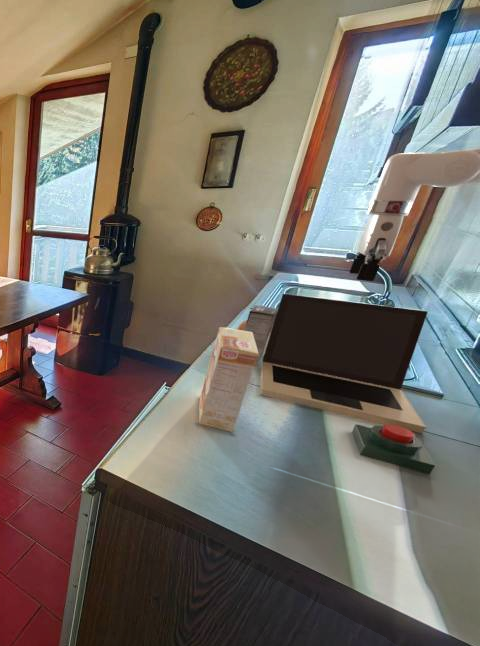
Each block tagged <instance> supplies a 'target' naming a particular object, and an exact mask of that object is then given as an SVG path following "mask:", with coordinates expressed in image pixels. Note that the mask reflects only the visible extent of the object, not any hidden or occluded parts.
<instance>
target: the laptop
mask: <svg viewBox="0 0 480 646" xmlns="http://www.w3.org/2000/svg"><path fill="white" fill-rule="evenodd" d="M259 388H260V389H259V390H260V391H259V392H260V396H264V397H268V398H273V399H277V400H281V401H284V402H288V403H293V404H298V405H302V406H306V407H310V408H314V409H318V410H323V411H326V412H330V413H334V414H339V415H343V416H348V417H351V418H356V419H359V420H364V421H367V422H373V423H375V424H376V423H377V424H380V425H387V424H390V425H396V426H400V427H403V428H405V429H408V430H410V431H411V432H413V433H419V434H424V432H425V430H426V428H427V426H426V425H425V423H424V422H423V419H421V417H420V416H419V414H418V413H417V411H416V410H415V408H414V406H412V404H411V402H410V400H409V399H408V398H407V396H406V395H405V394H404V392H403V391H402V390H400V389H395V388H390V387H385V386H380V385H375V384H370V383H365V382H360V381H355V380H350V379H346V378H341V377H336V376H331V375H326V374H321V373H316V372H311V371H306V370H301V369H296V368H291V367H286V366H282V365H277V364H272V363H267V362H261V365H260V386H259Z"/></svg>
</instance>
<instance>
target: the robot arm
mask: <svg viewBox="0 0 480 646" xmlns="http://www.w3.org/2000/svg"><path fill="white" fill-rule="evenodd" d="M473 183H480V147H479V148H474V149H461V150H452V151H445V152H434V153H427V152H404V153H401V152H400V153H395V154H393V155H391V156H389V157H388V159H387V160H386V162H385V164H384V167H383V169H382V172H381V175H380V176H379V180H378V182H377V184H376V187H375V190H374V191H373V195H372V197H371V199H370V202H369V205H368V207H367V210H366V211H365V215H370V216H369V218H368V220H367V223H366V224H365V227H364V229H363V232H362V234H361V237H360V239H359V242H358V244H357V248H356V250H357V253H356V255H355V257H354V259H353V261H352V263H351V266H350V268H349V271H348V273H349V274H353V275H354V274H355V275H357V276H356V280H358V281H366V282H373V281H374V280H375V278H376V276H377V273H378V271H379V269H380V267H381V264H382V262H383V261H382V260H383V259H384V258H388V257H390V256H391V254H392V251H393V249H394V246H395V244H396V241H397V239H398V236H399V233H400V230H401V227H402V225H403V221H404V217H408V216H409V214H410V211H411V209H412V207H413V205H414V203H415V200H416V197H417V196H418V193H419V191H420V189H421V186H422V185H423V186H433V187H437V188H452V187H457V186H458V187H459V186H460V185H466V184H473Z"/></svg>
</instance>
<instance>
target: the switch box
mask: <svg viewBox="0 0 480 646" xmlns="http://www.w3.org/2000/svg"><path fill="white" fill-rule="evenodd" d="M383 427H384V425H374V426H372V427H369V426H366V425H360V424H357V423H356V424H355V425H354V427H353V429H352V431H351V434H352V436H353V440H354V442H355V445H356V448H357V450H358V453H359V456H361V457H365V458H368V459H372V460H377V461H380V462H383V463H387V464H390V465H394V466H398V467H402V468H404V469H409V470H411V471H416V472H419V473H423V474H427V475H431V473H432V472H433V470H434V469H435V468H436V464H435V463H434V462H433V460H432V458H431V456H430V455H429V453H428V452H427V450H426V448H425V446H424V443H423V442H422V441H421V439H419V438H418V437H416V436H414V438H413V440H412V441H411V443H401V442H397V441H394V440H392V439H389V438H387V437H385V436H383V435H382V434H381V431H382V429H383Z"/></svg>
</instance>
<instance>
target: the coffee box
mask: <svg viewBox="0 0 480 646" xmlns="http://www.w3.org/2000/svg"><path fill="white" fill-rule="evenodd" d="M278 308H279V307H270V306H264V305H253V307H252V308H251V309H250V310H249V313H248V316H247V319H246V320H247V323H246V326H245V329H244V331H249V332H252V333H253V336H254V339H255V343H256V346H257V350H258V354H259V355H258V357H257V360H256V363H255V365H259V364H260V363H261V361H263V357H264V354H265V351H266V347H267V344H268V341H269V338H270V334H271V331H272V328H273V324H274V321H275V318H276V314H277V311H278Z"/></svg>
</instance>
